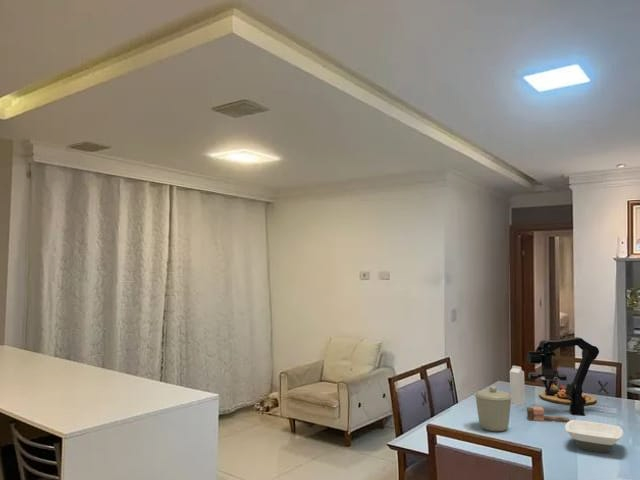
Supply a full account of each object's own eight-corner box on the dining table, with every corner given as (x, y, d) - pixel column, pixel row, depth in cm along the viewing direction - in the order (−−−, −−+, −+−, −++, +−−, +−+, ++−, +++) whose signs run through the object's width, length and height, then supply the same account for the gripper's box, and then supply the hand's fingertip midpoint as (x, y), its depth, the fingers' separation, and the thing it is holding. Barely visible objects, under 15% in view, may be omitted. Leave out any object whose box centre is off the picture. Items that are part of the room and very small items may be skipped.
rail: (567, 419, 268) (567, 410, 269) (570, 423, 262) (569, 413, 262) (527, 416, 274) (527, 407, 275) (528, 420, 268) (528, 410, 268)
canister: (499, 422, 264) (499, 381, 266) (520, 433, 247) (519, 389, 248) (468, 424, 260) (467, 382, 262) (487, 435, 243) (486, 390, 244)
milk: (519, 405, 298) (518, 367, 299) (510, 403, 303) (509, 365, 304) (525, 403, 302) (524, 366, 303) (515, 401, 307) (515, 364, 308)
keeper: (542, 417, 272) (542, 407, 272) (543, 420, 266) (543, 410, 266) (532, 416, 274) (532, 406, 274) (533, 420, 267) (533, 409, 267)
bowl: (623, 460, 210) (622, 439, 211) (563, 450, 222) (562, 430, 223) (624, 445, 229) (623, 426, 230) (568, 436, 241) (568, 418, 242)
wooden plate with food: (602, 408, 293) (601, 393, 293) (542, 403, 302) (542, 389, 303) (590, 396, 323) (590, 383, 324) (536, 392, 333) (536, 379, 333)
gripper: (531, 365, 276) (532, 394, 275) (568, 366, 271) (569, 396, 270) (528, 362, 287) (528, 390, 286) (563, 363, 282) (564, 391, 281)
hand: (547, 392), depth 280 cm, fingers closed
